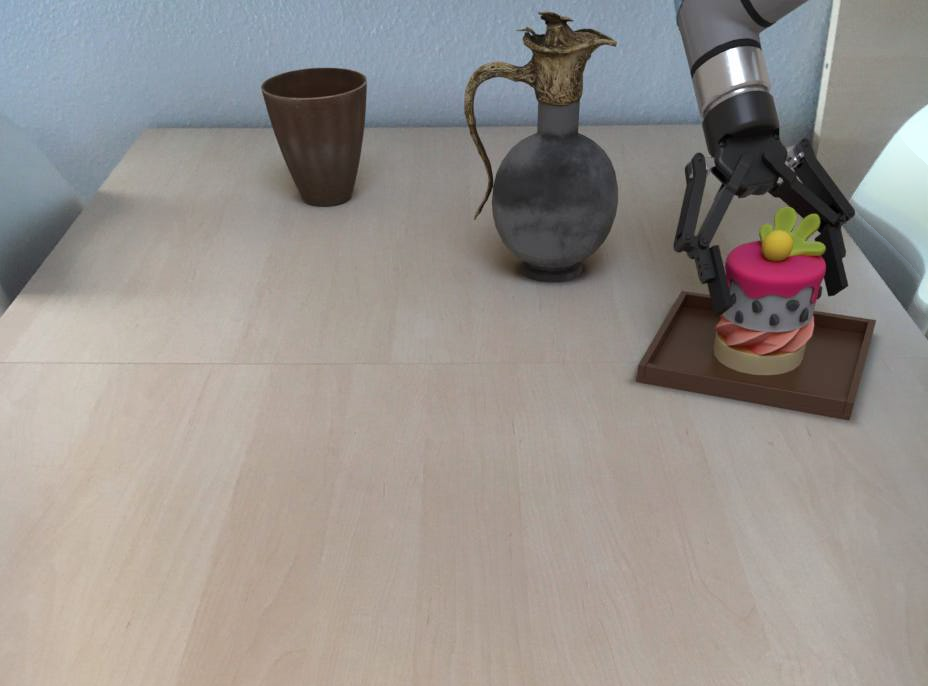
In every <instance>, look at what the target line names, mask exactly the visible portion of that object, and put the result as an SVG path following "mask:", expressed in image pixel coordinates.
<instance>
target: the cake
mask: <svg viewBox="0 0 928 686" xmlns="http://www.w3.org/2000/svg"><path fill="white" fill-rule="evenodd" d="M797 215H798V214H797V213H796V212H795V210H794V209H793V208H791V207H789V206H782V207H780V208H779V209H778V210H777V211H776V213H775V215H774V218H773V226H772V225H771V224H770V223H763V224H762V225H761V227H760V228H759V232H758V237H759V239H760V240H755V241H749V242H746V243H742V244H740V245H737V246H736V247H734V248H733V249H731V251H730V252H728V254H727V256H726V261H725V264H724V270H725V274H726V278H727V282H728V287H729V291H730V295H731V299H732V304H733V306H732V307H731V308H729V309H728V310H727V311H726V312H725V313H723V314H722V315H720V317H721V320H720V322H719V323H718V324H717V326H716V327H715V328H714V329H715V330H716V336H715V342H714V348H713V349H714V356H715V357H716V358H717V359H718V361H719V362H721V363H722V364H724V365H725V366H727V367H728V368H731V369H734V370H736V371H739V372H743V373H748V374H753V375H776V374H783V373H786V372H789V371H792V370H794V369H795V368H796V367H798V366H799V365H800V364H801V362H802V359H803V356H804V352H805V347H806V343H807V341H808V340H809V339H810V338H811V337H812V334H813V329H814V316H813V313H814V311H815V308H816V304H817V300H819V299H820V298H821V297H822V295H823V286H822V283H823V281H824V276H825V271H826V264H825V261H824V259H823V258H822V257H821V255H822V254H823V253H824V252H825V250H826V247H825V245H824V244H823V243H821V242H815V241H807V240H809V239H810V238H811V236H813V235H814V234H815V233H816V232H818V231H817V230H818V228H819V227H820V218H819V216H818V215H817V214H810V215H808V216H806V217H805V218H804V219H803V218H802V220H801V221H800V222H799V225H798V226H797V227H796V229H794V228H795V226H796V223H797V217H798V216H797Z"/></svg>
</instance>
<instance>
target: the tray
mask: <svg viewBox="0 0 928 686" xmlns="http://www.w3.org/2000/svg"><path fill="white" fill-rule="evenodd" d="M813 316H814V329H813V334H812V337H811V338H810V339H809V340H808V341H807V343H806V347H805V352H804V356H803V359H802V362H801V364H800V365H799V366H798V367H796V368H795V369H794V370H792V371H789V372H786V373H783V374H776V375H753V374H748V373H743V372H739V371H736V370H734V369H731V368H728V367H727V366H725V365H724V364H722V363H721V362H719V361H718V359H717V358H716V357H715V356H714V349H713V348H714V342H715V336H716V330H715V329H714V328H715V327H716V326H717V324H718V323H719V322H720V320H721V317H720V315H719V316H715V315H714V311H713V306H712V302H711V298H710V294H708V293H707V294H705V293H699V292H694V291H686V290H681V291H680V293H679V294H678V296H677V298H676V299H675V302H674V303H673V304H672V307H671V308H670V309H669V311H668V313H667V315H666V317H665V318H664V320H663V322H662V324H661V325H660V327H659V328H658V330H657V332H656V334H655V336H654V337H653V339H652V341H651V342H650V344H649V346H648V348H647V350H646V351H645V353H644V355H643V356H642V358H641V360H640V362H639V363H638V365H637V372H636V373H637V374H636V383H638V384H645V385H649V386H656V387H661V388H667V389H672V390H677V391H683V392H688V393H694V394H699V395H705V396H710V397H716V398H721V399H727V400H733V401H738V402H744V403H749V404H755V405H761V406H766V407H771V408H777V409H782V410H783V409H784V410H788V411H794V412H798V413H799V412H800V413H804V414H811V415H814V416H815V415H816V416H822V417H827V418H833V419H839V420H844V421H850V420H851V417H852V413H853V409H854V406H855V402H856V398H857V395H858V391H859V387H860V383H861V380H862V376H863V372H864V369H865V364H866V361H867V357H868V354H869V349H870V347H871V341H872V339H873V335H874V331H875V327H876V323H877V320H876V319H874V318H873V319H871V318H865V317H858V316H852V315H846V314H838V313H832V312H826V311H820V310H819V311H818V310H814V313H813Z"/></svg>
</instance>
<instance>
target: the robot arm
mask: <svg viewBox="0 0 928 686" xmlns="http://www.w3.org/2000/svg"><path fill="white" fill-rule="evenodd" d="M808 1H810V0H673V5H674V9H675V11H674V12H675V21H676V26H677V27H678V31H679V33H680V36H681V41H682V45H683V48H684V52H685V56H686V60H687V64H688V68H689V74H690V78H691V83H692V87H693V91H694V95H695V96H694V97H695V100H696V104H697V108H698V113H699V117H700V118H701V119H702V122H701V127H702V128H701V129H702V131H703V132H702V133H703V134H704V135H703V136H704V140H705V145H706V148H707V152H708V155H710V156H709V157H707V156H706V157H705V155H704V154H703V153H702V152H696V153H694V155H693V156H692V157H691V159H690V160H689V161H688V162H687V164H686V165H685V167H684V177H685V185H686V186H685V191H684V195H683V200H682V204H681V208H680V213H679V217H678V223H677V227H676V230H675V235H674V241H673V245H672V249H673V250H674V252H675V253H678V254H681V253H683V252H684V253H686V256H687V258H689V259H690V260H694V264H695V267H696V271H697V274H698V280H699V282H700V283H701V285H707V289H708V293H709V294H708V295H710V298H711V302H712V306H713V311H714V315H715V316H719V315H722V314H723V313H725V312H726V311H727V310H728V309H729V308H731V307H732V306H733V304H732V299H731V295H730V291H729V287H728V282H727V278H726V271H725V264H724V262H723V257H722V252H721V249H720V245H719V244H715V245H714V244H713V245H711V243H712V241H713V239H714V237H715V235H716V233H717V231H718V229H719V228H720V227H719V226H720V225H721V223H722V221H723V219H724V216H725V215H726V212H727V210H728V208H729V206H730V204H731V202H732V201H733V198H734V196H735V197H738V199H743V198H744V199H745V198H747V197H749V196H764V195H766V194H767V193H768V194H770V195H771V196H772V197H773V198H775V199H776V198H777V199H778V198H779V199H780V200H781V201H782V202H783V203H784V204H785V205H787V207H791V208H793V209H794V210H795V212H796V215H798V216H800V217H801V219H802V220H803V219H804V218H805V217H806V216H808V215H810V214H817V215H818V216H819V218H820V227H819V228H818V230H817V231H816V232H818V233H819V234H818V235H817V236H816V237H815V238H814V242H821V243H823V244H824V245H825V247H826V250H825V252H824V253H823V254H822V255H821V257H822V258H823V259H824V261H825V264H826V271H825V276H824V279H823V281H824V285H825V289H826V293H827V297H828V298H830V297H834V296H836V295H838V294H839V293H841V292H842V291H843V290H845V289H846V288H848V287H849V282H848V277H847V273H846V270H845V265H844V261H843V259H844V258H845V257H846V255H847V250H846V245H845V240H844V237H843V232H842V227H843V226H844V225H845V224H846V223H848V222H849V221H850V220H851V219H853V218H854V217H855V216H856V210H855V208H854V207H853V206H852V204H851V203H850V202H849V200H848V198H847V197H846V196H845V195H844V193H843V192H842V190H840V188H839V187H838V185H837V184H836V183H835V181H834V180H833V179H832V177H831V176H830V175H829V173H828V172H827V170H826V169H825V167H823V165H822V163H820V161H819V159H818V158H817V157H816V154H815V151H814V148H813V146H812V143H811V141H810V139H808V138H806V137H803V138H802V139H800V140H799V142H797V143H796V144H793V145H789V146H785V145H784V143H783V142H782V140H781V135H780V128H781V127H780V120H779V116H778V112H777V108H776V107H777V106H776V103H775V100H774V96H773V95H772V94H771V91H772V85H771V81H770V77H769V71H768V68H767V65H766V61H765V57H764V52H763V49H762V43H761V37H760V34H761V33H762V32H764V31H765V30H766V29H768V28H770V27H772V26H774V24H776V23H777V22H778V21H780V20H781V19H782V18H784V17H785V16H787V15H789V14H790V13H792V12H793V11H795V10H797V9H798V8H799V7H801V6H802V5H805V4H806V3H807V2H808ZM786 162H787V163H788V164H786ZM710 174H712V175H713V176H714V177H715V178H716V179H717V181H719V182H720V183H721V184H720V186H719V188H718V190H717V191H716V194H715V196H714V198H713V202H712V204H711V206H710V208H709V210H708V211H707V214H706V216H705V217H704V220H703V222H702V224H701V226H700V228H699V230H698V232H697V234H696V228H697V224H698V219H699V214H700V211H701V206H702V202H703V196H704V192H705V187H706V182H707V178H708V177H709V175H710ZM780 179H781V180H782V181H781V182H778V181H779V180H780ZM695 234H696V235H695ZM710 245H711V246H710Z"/></svg>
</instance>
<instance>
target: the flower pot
mask: <svg viewBox="0 0 928 686" xmlns="http://www.w3.org/2000/svg"><path fill="white" fill-rule="evenodd" d="M260 89H261V93H262V96H263V100H264V104H265V107H266V111H267V114H268V119H269V121H270V123H271V128H272V130H273V134H274V136H275V139H276V141H277V144H278V147H279V150H280V153H281V155H282V158H283V160H284V163H285V165H286V167H287V169H288V172H289V174H290V176H291V178H292V180H293V183H294V184H295V186H296V189H297V190H298V192H299V194H300V197H301V198H302V200H303V202H305V204H307V205H309V206H314V207H332V206H333V207H334V206H338V205H341V204H344V203H346V202H348V201H350V199H351V198H352V196H353V192H354V188H355V184H356V181H357V175H358V171H359V167H360V166H359V165H360V160H361V156H362V148H363V142H364V133H365V124H366V113H367V95H368V94H367V91H368V90H367V89H368V78H367V77H366V75H364V74H363V73H361V72H359V71H357V70H353V69H348V68H341V67H311V68H309V67H308V68H300V69H296V70H295V69H294V70H290V71H289V70H288V71H285V72H282V73H279V74H276V75H273V76H271V77H269V78H267V79H265V81H263V82H262V83H261V86H260Z"/></svg>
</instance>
